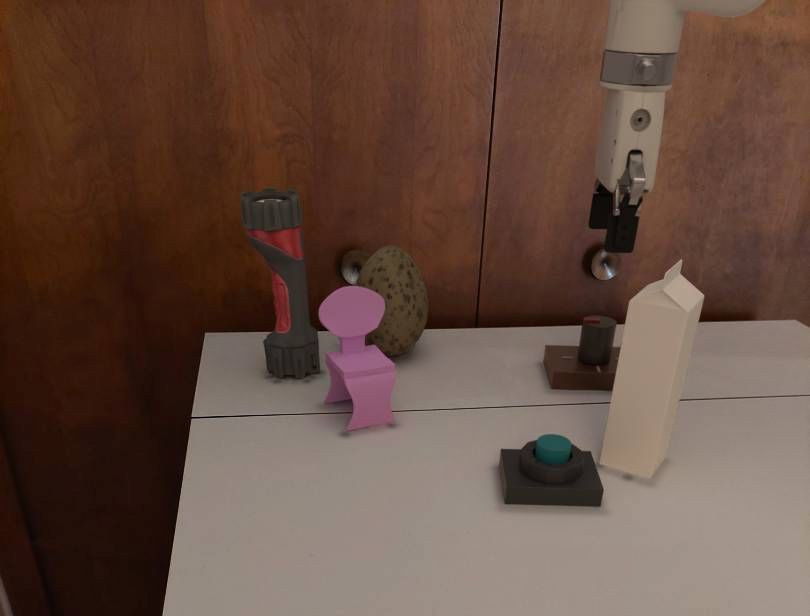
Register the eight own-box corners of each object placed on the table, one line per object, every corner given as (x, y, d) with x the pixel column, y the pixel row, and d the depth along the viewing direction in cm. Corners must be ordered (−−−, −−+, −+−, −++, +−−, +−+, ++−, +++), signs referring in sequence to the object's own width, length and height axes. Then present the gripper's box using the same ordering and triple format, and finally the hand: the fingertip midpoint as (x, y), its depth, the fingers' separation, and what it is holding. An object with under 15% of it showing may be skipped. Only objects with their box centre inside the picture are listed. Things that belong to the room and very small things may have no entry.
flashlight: (245, 369, 110) (226, 191, 96) (291, 355, 114) (279, 182, 101) (278, 388, 105) (263, 203, 92) (325, 372, 109) (317, 194, 96)
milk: (666, 457, 92) (714, 263, 79) (649, 480, 88) (698, 279, 75) (615, 442, 95) (654, 252, 82) (597, 464, 91) (635, 267, 78)
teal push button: (566, 448, 86) (568, 434, 85) (571, 465, 83) (573, 451, 82) (533, 447, 86) (535, 433, 85) (536, 464, 83) (538, 450, 82)
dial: (606, 352, 110) (613, 313, 107) (612, 365, 107) (620, 325, 104) (575, 351, 110) (580, 312, 107) (579, 364, 107) (586, 324, 104)
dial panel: (627, 363, 114) (631, 345, 112) (641, 391, 106) (645, 372, 105) (543, 361, 114) (545, 343, 112) (551, 388, 106) (553, 370, 105)
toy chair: (340, 434, 95) (336, 311, 86) (316, 403, 102) (310, 286, 93) (404, 422, 98) (406, 301, 89) (376, 393, 104) (376, 278, 96)
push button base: (587, 468, 90) (593, 436, 88) (600, 507, 83) (606, 474, 81) (498, 465, 90) (502, 434, 88) (504, 504, 83) (508, 471, 81)
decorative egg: (441, 353, 115) (447, 247, 107) (389, 375, 109) (390, 263, 100) (388, 333, 121) (389, 230, 113) (336, 352, 115) (332, 245, 106)
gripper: (696, 82, 77) (659, 263, 87) (652, 63, 91) (625, 221, 101) (618, 80, 77) (590, 261, 87) (586, 62, 91) (565, 219, 101)
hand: (609, 239), depth 94 cm, fingers open, 9 cm apart
